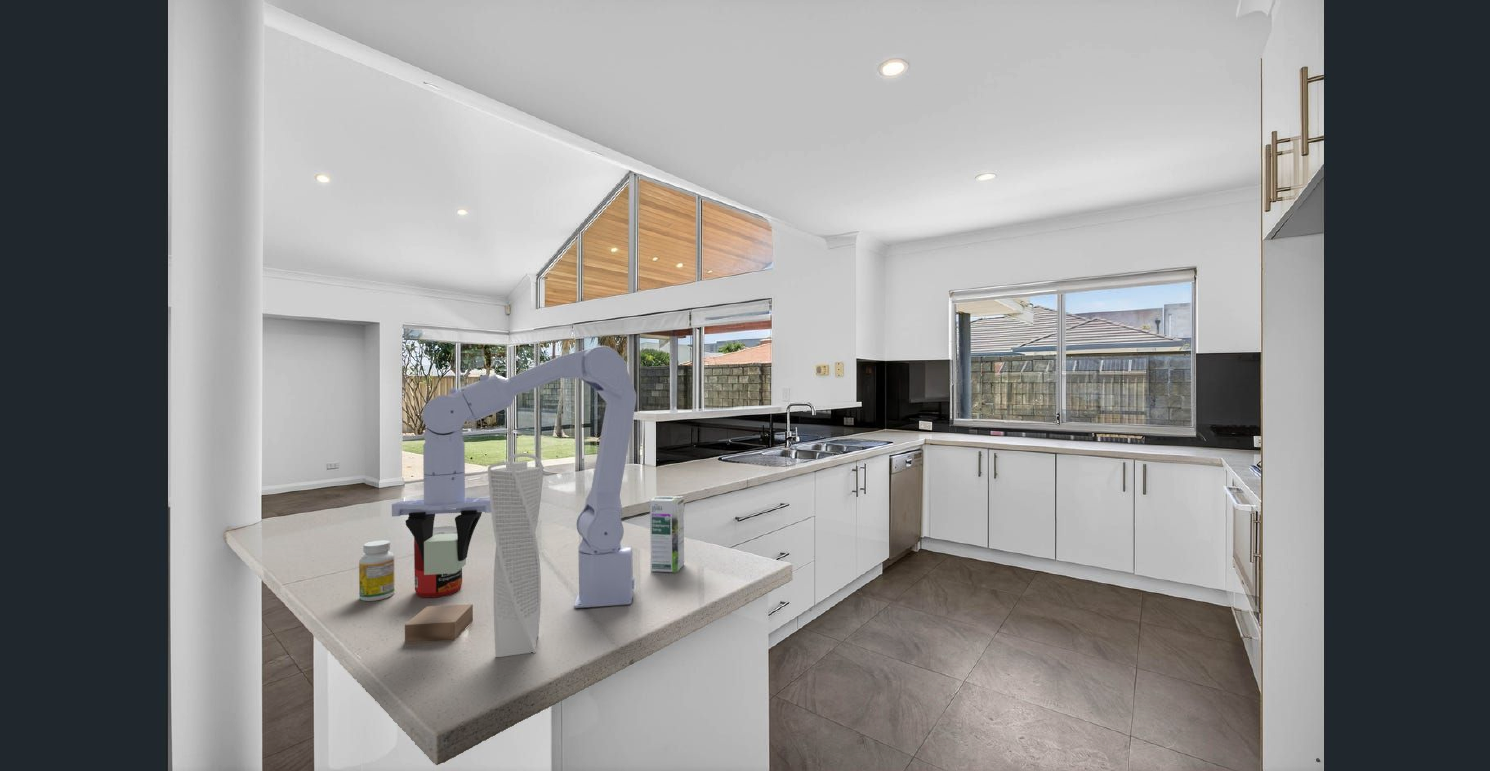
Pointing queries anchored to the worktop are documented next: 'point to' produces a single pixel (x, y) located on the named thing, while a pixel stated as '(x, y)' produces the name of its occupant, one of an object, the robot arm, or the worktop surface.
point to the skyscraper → (516, 554)
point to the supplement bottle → (376, 571)
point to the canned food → (436, 582)
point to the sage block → (442, 555)
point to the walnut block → (439, 623)
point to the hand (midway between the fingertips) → (445, 559)
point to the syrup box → (667, 533)
